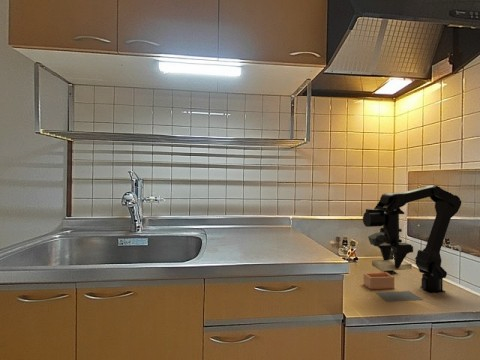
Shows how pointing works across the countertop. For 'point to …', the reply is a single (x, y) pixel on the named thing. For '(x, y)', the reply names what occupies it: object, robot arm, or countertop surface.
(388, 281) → the open box
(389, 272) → the salt shaker
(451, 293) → the countertop surface
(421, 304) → the countertop surface
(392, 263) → the beige block on tray
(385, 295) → the mat
